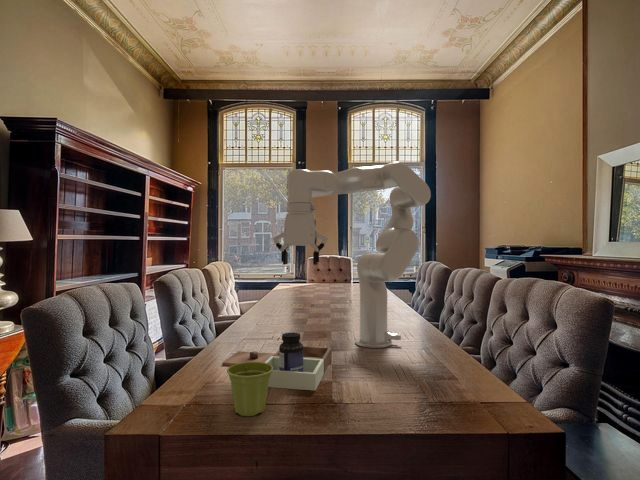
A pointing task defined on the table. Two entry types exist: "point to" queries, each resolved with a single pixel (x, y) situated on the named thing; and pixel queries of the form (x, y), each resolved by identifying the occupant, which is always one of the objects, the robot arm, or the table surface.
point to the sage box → (297, 375)
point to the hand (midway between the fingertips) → (300, 264)
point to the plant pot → (249, 386)
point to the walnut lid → (247, 358)
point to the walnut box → (316, 354)
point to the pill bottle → (291, 353)
